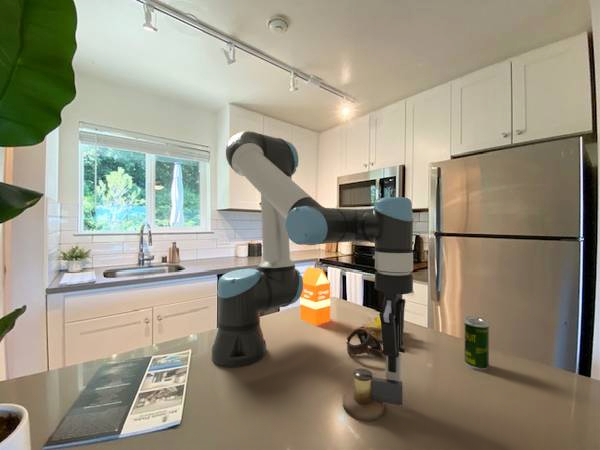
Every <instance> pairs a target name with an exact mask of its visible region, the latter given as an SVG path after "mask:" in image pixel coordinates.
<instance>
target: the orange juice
mask: <svg viewBox="0 0 600 450" xmlns="http://www.w3.org/2000/svg"><path fill="white" fill-rule="evenodd" d="M327 277H328V276H327V275H326V274H325V271H324V269H323V268H315V267H311V266H307V268H306V269H305V271H304V274H303V275H302V279H303V291H302V294H301V296H300V298H299V299H300V300H299V305H300V307H299V311H300V320H301V319H302V320H301V321H303V320H304V321H303V322H305V321H306V322H305V323H308V322H309V323H308V324H310V323H311V324H310V325H312V324H313V325H312V326H315V325H317V326H320V325H323V324H325V322H326V323H329V322H331V282H330V281H329V279H328V278H327ZM328 321H329V322H328ZM322 323H323V324H322ZM319 324H320V325H319Z"/></svg>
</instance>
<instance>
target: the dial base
mask: <svg viewBox="0 0 600 450" xmlns="http://www.w3.org/2000/svg"><path fill="white" fill-rule="evenodd" d="M342 408H343V411H345V413H346V414H347V415H348V416H349V417H352V418H353V419H356V420H359V421H364V422H371V421H376V420H378V419H380V418H381V417H382V416H383V415H384V402H378V401H373V400H372V402H371V403H370V404H367V405H362V404H359V403H357V402H356V401H355V400H354V387H351V388H349V389H347V390H345V392H344V393H343V395H342Z"/></svg>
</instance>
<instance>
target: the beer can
mask: <svg viewBox="0 0 600 450" xmlns="http://www.w3.org/2000/svg"><path fill="white" fill-rule="evenodd" d="M488 322H489V321H488V320H487V319H485V318H484V317H479V316H474V315H472V316H468V315H467V316H466V317H465V320H464V363H465V364H466V366H467V367H469V368H471V369H473V370H476V371H487V370H488V368H489V366H490V325H489V323H488Z"/></svg>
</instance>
